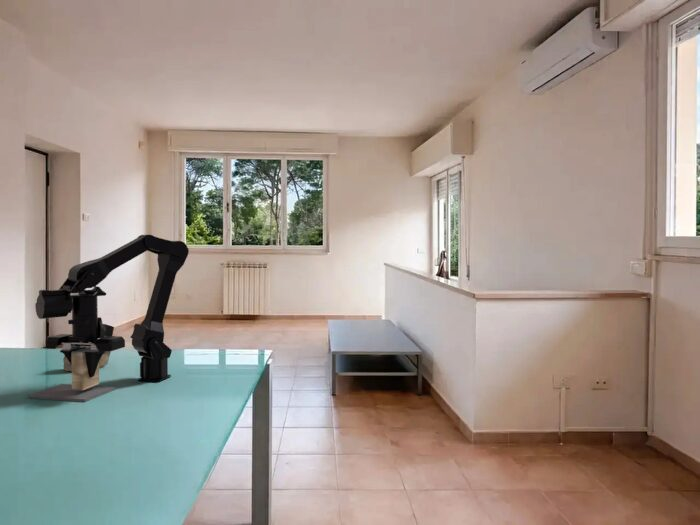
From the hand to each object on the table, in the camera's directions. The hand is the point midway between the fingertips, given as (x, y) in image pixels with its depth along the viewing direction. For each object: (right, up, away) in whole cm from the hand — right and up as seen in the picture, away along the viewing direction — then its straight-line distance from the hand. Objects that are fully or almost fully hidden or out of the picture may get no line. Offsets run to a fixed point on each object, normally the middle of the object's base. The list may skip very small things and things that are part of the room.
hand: (85, 376), depth 129 cm
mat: (-3, -4, 0) cm, 5 cm away
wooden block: (0, -3, 0) cm, 3 cm away
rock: (-13, -4, +25) cm, 29 cm away
